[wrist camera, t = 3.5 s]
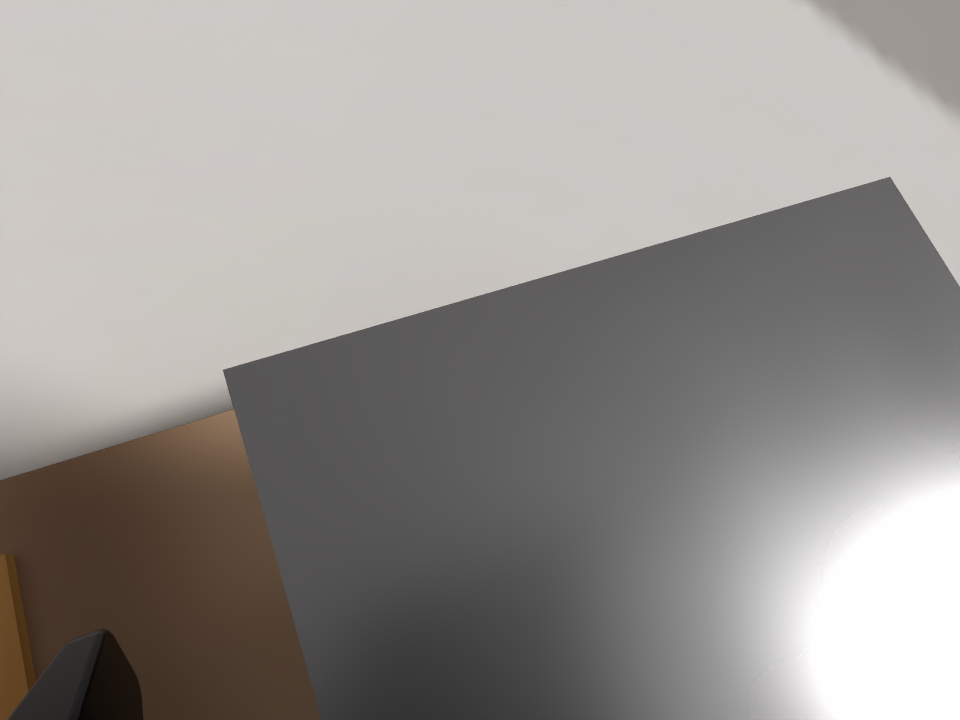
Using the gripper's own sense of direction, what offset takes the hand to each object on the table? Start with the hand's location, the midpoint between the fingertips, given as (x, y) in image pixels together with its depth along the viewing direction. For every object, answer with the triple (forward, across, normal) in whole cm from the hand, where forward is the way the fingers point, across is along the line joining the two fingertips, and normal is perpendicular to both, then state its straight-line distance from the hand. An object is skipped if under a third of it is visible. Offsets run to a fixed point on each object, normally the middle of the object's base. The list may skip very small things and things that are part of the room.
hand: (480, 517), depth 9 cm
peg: (+4, 0, +6) cm, 7 cm away
